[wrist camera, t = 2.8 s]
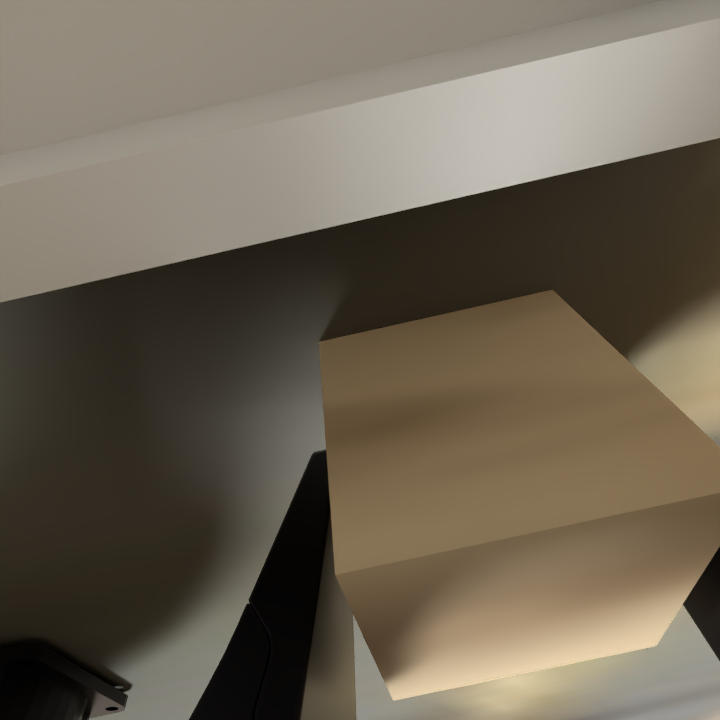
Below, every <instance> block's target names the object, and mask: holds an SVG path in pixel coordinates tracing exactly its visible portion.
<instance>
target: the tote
mask: <svg viewBox="0 0 720 720" xmlns="http://www.w3.org/2000/svg"><path fill="white" fill-rule="evenodd" d="M718 138H720V0H0V303H1V302H5V301H9V300H14V299H18V298H22V297H27V296H31V295H36V294H40V293H44V292H49V291H53V290H57V289H62V288H66V287H71V286H75V285H79V284H84V283H88V282H92V281H97V280H101V279H106V278H110V277H114V276H119V275H123V274H127V273H132V272H136V271H141V270H145V269H149V268H154V267H158V266H162V265H167V264H171V263H176V262H180V261H184V260H189V259H193V258H197V257H202V256H206V255H211V254H215V253H219V252H224V251H228V250H232V249H237V248H241V247H245V246H250V245H254V244H259V243H263V242H267V241H272V240H276V239H280V238H285V237H289V236H294V235H298V234H302V233H307V232H311V231H315V230H320V229H324V228H329V227H333V226H337V225H342V224H346V223H350V222H355V221H359V220H364V219H368V218H372V217H377V216H381V215H385V214H390V213H394V212H399V211H403V210H407V209H412V208H416V207H420V206H425V205H429V204H434V203H438V202H442V201H447V200H451V199H455V198H460V197H464V196H469V195H473V194H477V193H482V192H486V191H490V190H495V189H499V188H503V187H508V186H512V185H517V184H521V183H525V182H530V181H534V180H538V179H543V178H547V177H552V176H556V175H560V174H565V173H569V172H573V171H578V170H582V169H587V168H591V167H595V166H600V165H604V164H608V163H613V162H617V161H622V160H626V159H630V158H635V157H639V156H643V155H648V154H652V153H657V152H661V151H665V150H670V149H674V148H678V147H683V146H687V145H692V144H696V143H700V142H705V141H709V140H713V139H718Z"/></svg>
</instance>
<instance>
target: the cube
mask: <svg viewBox="0 0 720 720" xmlns="http://www.w3.org/2000/svg"><path fill="white" fill-rule="evenodd" d="M319 351H320V365H321V380H322V394H323V409H324V423H325V437H326V452H327V466H328V481H329V495H330V509H331V524H332V538H333V552H334V567H335V576H336V578H337V580H338V582H339V585H340V587H341V589H342V591H343V593H344V595H345V597H346V600H347V602H348V604H349V606H350V608H351V610H352V613H353V615H354V617H355V619H356V621H357V623H358V626H359V628H360V630H361V632H362V634H363V636H364V638H365V641H366V643H367V645H368V647H369V649H370V651H371V654H372V656H373V658H374V660H375V662H376V664H377V667H378V669H379V671H380V673H381V675H382V677H383V679H384V682H385V684H386V686H387V688H388V690H389V692H390V695H391V697H392V699H393V701H394V700H399V699H404V698H409V697H413V696H418V695H423V694H428V693H433V692H438V691H442V690H447V689H452V688H457V687H462V686H466V685H471V684H476V683H481V682H486V681H490V680H495V679H500V678H505V677H510V676H515V675H519V674H524V673H529V672H534V671H539V670H543V669H548V668H553V667H558V666H563V665H567V664H572V663H577V662H582V661H587V660H591V659H596V658H601V657H606V656H611V655H616V654H620V653H625V652H630V651H635V650H640V649H644V648H649V647H654V646H656V645H657V644H658V642H659V640H660V639H661V637H662V636H663V634H664V633H665V631H666V630H667V628H668V626H669V625H670V623H671V622H672V620H673V619H674V617H675V615H676V614H677V612H678V611H679V609H680V608H681V606H682V604H683V603H684V601H685V600H686V598H687V597H688V595H689V594H690V592H691V590H692V589H693V587H694V586H695V584H696V583H697V581H698V579H699V578H700V576H701V575H702V573H703V572H704V570H705V568H706V567H707V565H708V564H709V562H710V561H711V559H712V558H713V556H714V554H715V553H716V551H717V550H718V548H719V547H720V447H719V446H718V445H717V444H716V443H715V442H714V441H713V440H712V439H711V438H710V437H709V436H707V435H706V434H705V433H704V432H703V431H702V430H701V429H700V428H699V427H698V426H697V425H696V424H695V423H694V422H693V421H691V420H690V419H689V418H688V417H687V416H686V415H685V414H684V413H683V412H682V411H681V410H680V409H679V408H678V407H677V406H676V405H674V404H673V403H672V402H671V401H670V400H669V399H668V398H667V397H666V396H665V395H664V394H663V393H662V392H661V391H660V390H659V389H657V388H656V387H655V386H654V385H653V384H652V383H651V382H650V381H649V380H648V379H647V378H646V377H645V376H644V375H643V374H642V373H640V372H639V371H638V370H637V369H636V368H635V367H634V366H633V365H632V364H631V363H630V362H629V361H628V360H627V359H626V358H625V357H623V356H622V355H621V354H620V353H619V352H618V351H617V350H616V349H615V348H614V347H613V346H612V345H611V344H610V343H609V342H608V341H606V340H605V339H604V338H603V337H602V336H601V335H600V334H599V333H598V332H597V331H596V330H595V329H594V328H593V327H592V326H591V325H589V324H588V323H587V322H586V321H585V320H584V319H583V318H582V317H581V316H580V315H579V314H578V313H577V312H576V311H575V310H574V309H572V308H571V307H570V306H569V305H568V304H567V303H566V302H565V301H564V300H563V299H562V298H561V297H560V296H559V295H558V294H557V293H555V292H554V291H553V290H549V291H544V292H540V293H535V294H531V295H527V296H522V297H518V298H513V299H509V300H504V301H500V302H495V303H491V304H486V305H482V306H477V307H473V308H468V309H464V310H459V311H455V312H451V313H446V314H442V315H437V316H433V317H428V318H424V319H419V320H415V321H410V322H406V323H401V324H397V325H392V326H388V327H383V328H379V329H375V330H370V331H366V332H361V333H357V334H352V335H348V336H343V337H339V338H334V339H330V340H325V341H321V342H319Z"/></svg>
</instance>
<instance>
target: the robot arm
mask: <svg viewBox="0 0 720 720" xmlns="http://www.w3.org/2000/svg"><path fill="white" fill-rule="evenodd" d="M683 605H684V607H685V608H686V610H687V611H688V613H689V614H690V616H691V618H692V619H693V621H694V622H695V624H696V625H697V627H698V628H699V630H700V631H701V633H702V634H703V636H704V638H705V639H706V641H707V642H708V644H709V645H710V647H711V648H712V650H713V651H714V653H715V654H716V656H717V658H718V659H719V661H720V547H719V548H718V550H717V551H716V553H715V554H714V556H713V558H712V559H711V561H710V562H709V564H708V565H707V567H706V568H705V570H704V572H703V573H702V575H701V576H700V578H699V579H698V581H697V583H696V584H695V586H694V587H693V589H692V590H691V592H690V594H689V595H688V597H687V598H686V600H685V601H684V603H683ZM127 698H128V696H127V695H126V694H124V693H123V692H121V691H119V690H117V689H116V688H114V687H112V686H111V685H109V684H107V683H106V682H104V681H102V680H100V679H99V678H97V677H95V676H94V675H92V674H90V673H89V672H87V671H85V670H83V669H82V668H80V667H78V666H77V665H75V664H73V663H72V662H70V661H68V660H66V659H65V658H63V657H61V656H60V655H58V654H56V653H54V652H53V651H51V650H49V649H48V648H46V647H44V646H41V645H36V644H24V645H18V646H14V647H9V648H4V649H0V720H89V718H93V717H98V716H103V715H107V714H112V713H117V712H121V711H123V710H124V709H125V706H126V702H127ZM189 720H356V694H355V663H354V633H353V613H352V610H351V608H350V606H349V604H348V602H347V600H346V597H345V595H344V593H343V591H342V589H341V587H340V585H339V582H338V580H337V578H336V576H335V567H334V552H333V538H332V524H331V509H330V495H329V481H328V466H327V452H326V450H322V451H317V452H314V453H313V454H312V456H311V458H310V460H309V462H308V465H307V467H306V469H305V472H304V474H303V476H302V479H301V481H300V483H299V485H298V488H297V490H296V492H295V495H294V497H293V499H292V502H291V504H290V506H289V508H288V511H287V513H286V515H285V518H284V520H283V522H282V524H281V527H280V529H279V531H278V534H277V536H276V538H275V541H274V543H273V545H272V547H271V550H270V552H269V554H268V557H267V559H266V561H265V564H264V566H263V568H262V570H261V573H260V575H259V577H258V580H257V582H256V584H255V586H254V589H253V591H252V593H251V596H250V598H249V603H248V604H247V605H246V607H245V609H244V611H243V614H242V616H241V618H240V621H239V623H238V625H237V627H236V629H235V632H234V634H233V636H232V638H231V640H230V642H229V644H228V647H227V649H226V651H225V653H224V655H223V657H222V659H221V661H220V663H219V665H218V667H217V668H216V670H215V672H214V674H213V676H212V678H211V680H210V682H209V684H208V686H207V688H206V689H205V691H204V693H203V695H202V697H201V699H200V700H199V702H198V704H197V706H196V708H195V710H194V711H193V713H192V715H191V717H190V719H189Z"/></svg>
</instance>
